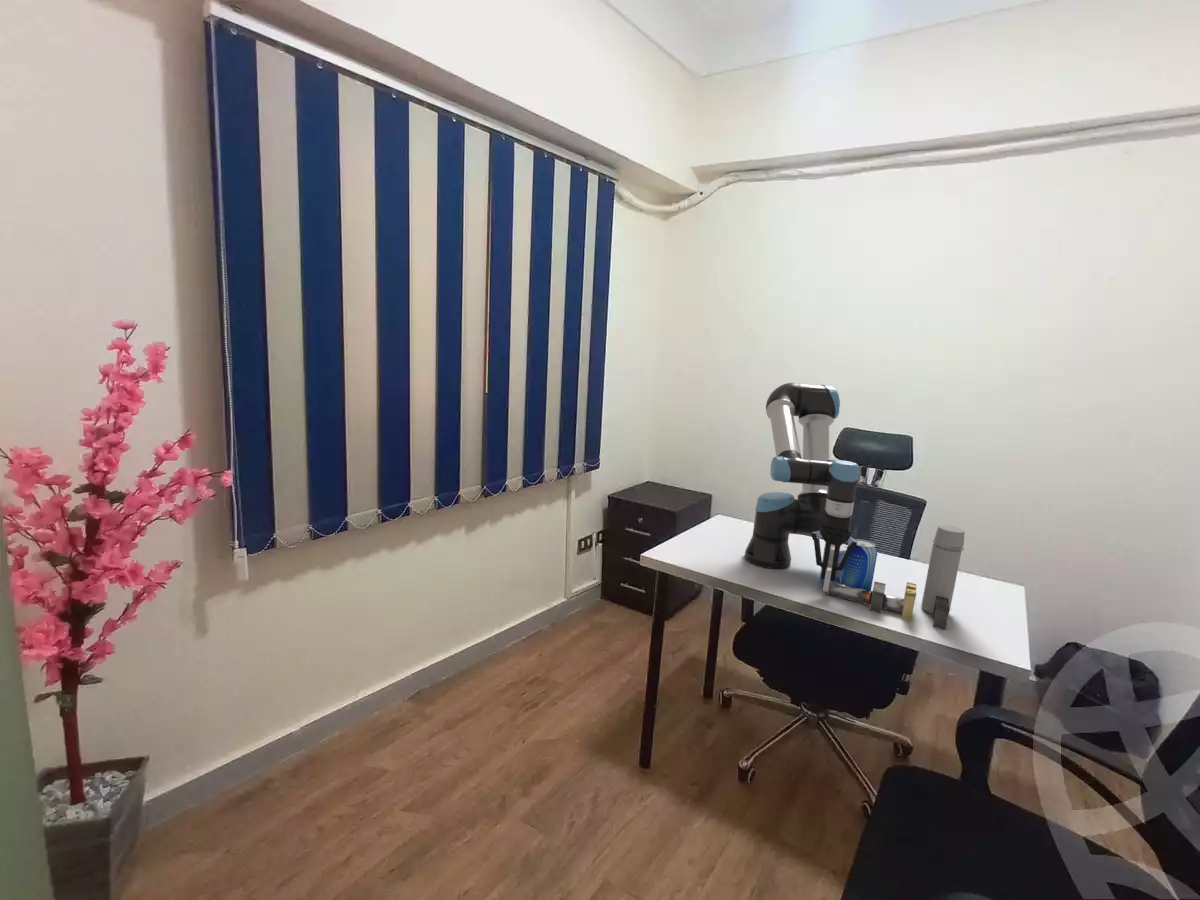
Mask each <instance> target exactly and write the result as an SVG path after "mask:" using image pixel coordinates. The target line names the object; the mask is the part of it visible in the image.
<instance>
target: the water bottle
mask: <svg viewBox="0 0 1200 900" xmlns="http://www.w3.org/2000/svg"><path fill="white" fill-rule="evenodd" d="M934 535H935V536H934V537H933V540H932V542H933V544H932V548H931V552H930V558H929V564H928V569H927V575H926V580H925V585H924V590H923V594H922V601H921V607H922V609H923V610H924V611H925V612H927V613H929V614H931V615H933V610H934V604H935V599H936V596H940V597H944V598H948V600H949V608H950V610H949V613H950V611H951V607H952V602H953V596H954V591H955V587H956V582H957V581H956V579H957V575H958V570H959V567H960V561H961V555H962V551H964V550H965V548H964V543H965V530H964V529H962V528H960V527H957V526H955V525H954V526H953V525H946V524H940V525H938V526H937V529H936V532H935V534H934Z"/></svg>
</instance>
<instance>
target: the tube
mask: <svg viewBox="0 0 1200 900" xmlns="http://www.w3.org/2000/svg"><path fill="white" fill-rule="evenodd" d="M872 592H873V590H871V591H869V590H865V589H861V588H857V587H853V586H849V585H844V584H840V583H836V582H832V581H830V585H829V590H828V592H827V595H829V596H833V597H837V598H841V599H845V600H848V601H853V602H857V603H861V604H865V605H868V606H870V603H871V597H872ZM904 602H905V599H904V598H902V597H898V596H893V595H890V594H885V593H884V598H883V604H882V609H884V610H889V611H893V612H896V613H900V614H902V613H903V607H904Z"/></svg>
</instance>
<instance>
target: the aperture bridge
mask: <svg viewBox="0 0 1200 900" xmlns="http://www.w3.org/2000/svg"><path fill="white" fill-rule="evenodd" d="M905 586H906V587H905V591H904V597H903V599H905V602H904V607H903V613H901V619H902V620H904V621H905V620H906V621H908V622H912V618H913V615H914V614H913V613H914V608H915V602H916V596H917V584H916V583H913V582H908V581H907V582H906V585H905Z"/></svg>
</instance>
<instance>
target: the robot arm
mask: <svg viewBox="0 0 1200 900" xmlns="http://www.w3.org/2000/svg"><path fill="white" fill-rule="evenodd" d="M840 408H841V400H840V395H839V391H838V390H837V389H836V388H835V387H834V386H831V385H825V384H810V383H797V382H787V383H784V384H782V385H779V386H778V387H776V388H775V389H774V390H773V391H772V392H771V393H770V394H769V396H768V398H767V400H766V404H765V411H766V412H765V413H766V415H767V418H768V419H770V424H771V425H770V426H771V431H772V438H773V439H772V440H773V444H774V450H775V451H774V452H775V456H774V457H773V458H772V460H771V463H770V478H771V479H772V480H773V481H776V482H782V483H791V484H793V483H794V484H802V486H801V487H802V488H801V489H802V490H801V491H800V492H799V493H798V494H797V498H795V496H794V495H793V494H791V493H788V492H783V491H772V492H765V493H762V494H760V495H759V496H758V498H757V501H756V505H755V514H754V522H753V530H752V536H751V538H750V540H749V542H748V544H747V546H746V547H745V548H746V549H745V552H744V559H745V560H746V561H747V562H749V563H750V564H752V565H755V566H757V567H761V568H766V569H772V570H773V569H774V570H775V569H776V570H781V569H782V570H783V569H786V568H789V567H790V566H791V562H792V556H791V549H790V545H789V538H790V535H799V536H809V537H810V536H811V538H812V540H813V545H814V554H815V563H816V565H817V566H818V567H820V568H821V567H822V574H821V579H825V580H824V583H823V588H822V591H823V592H826V593H828V590H829V585H830V581H834V580H835V575H836V571H838V570H840V571H842V570H843V568H844V565H845V563H846V561H847V559H848V557H849V555H850V553H851V550H852V549H853V548H854V547H855V546H856V545H857V543H858V542H857V540H854V538H853V537H852V536H851V535H852V534H851V531H850V530H851V523H852V517H851V516H852V515H853V511H854V505H855V497H856V493H857V486H858V481H859V477H860V475H859V473H860V466H859V464H858V463H856V462H853V461H848V460H841V459H837V460H835V459H830V426H831V425H833V424H834V422H835V419H837V418H838V417H839V414H840ZM794 417H798V423H799V424H800V425H801V426H802V451H801V448H800V444H799V443H800V442H799V438H798V433H797V428H796V422H795V418H794ZM801 452H802V453H801ZM820 538H822V539H823V541H824V543H826V546H825V545H824V547H825V553H824V552H823V553H824V560H823V557H822V552H821V551H822V550H821V541H820V540H821V539H820ZM846 542H847V546H848V545H849V546H848V548H847V550H846V552H845V555H844V557H843V559H842V561H841V563H840V565H837V564H838V557H839V551H840V546H841V545H842V544H845V543H846ZM831 544H833V545H835V550H834V556H833V563H832V568H828V567H827V566H828V561H829V555H830V548H831ZM822 560H823V561H822Z"/></svg>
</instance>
